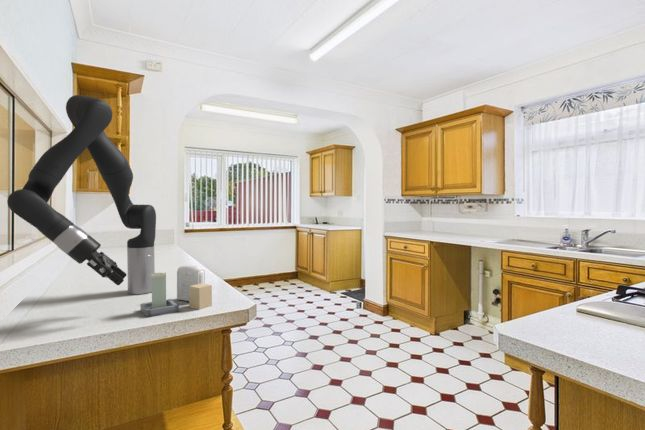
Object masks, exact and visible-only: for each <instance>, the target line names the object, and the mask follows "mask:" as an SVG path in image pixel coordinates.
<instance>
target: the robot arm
mask: <svg viewBox="0 0 645 430" xmlns="http://www.w3.org/2000/svg"><path fill="white" fill-rule="evenodd" d="M65 111H66V115H67V117H68V119H69V121H70V123H71V124H72V126H73V127H74V128H73V129H72V130H71V131H70V133H68V134H67V135H66V136H64V138H62V139H61V140H60V141H58V142H56V143H55V144H54V145H52V146H51V147H50V148H48V149H47V150H45V152H43V154H42V155H41V156H40V157H39V158H38V160H37V162H36V163H35V164H34V166H33V167H32V168H31V170H30V172H29V174H28V178H27V179H28V180H27V181H26V182H25V184H24V185H23V187H22V188H20V189H16V190H14V191H12V192H11V193H10V194H9V196H7V202H6V203H7V207H8V208H9V210H11V211H12V212H13V213H14V214H15V215H16V216H18V217H19V218H21V219H22V220H24V221H25V222H27V223H28V224H30V225H31V226H32V227H33V228H34V227H35V229H37V230H38V231H39V232H40V233H41V234H42V235H43V236H44V237H45V238H47V239H49V240H50V241H51V242H52V243H53V244H54V245H56V247H57V248H58V249H59V250H61V251H62V252H63V253H65V254H66V255H67V256H69V257H70V258H71V259H72V260H73V261H75V262H77V264H80V265H81V264H82V263H84V262H85V261H87V263H86V265H87V266H88V267H89V268H91V269H92V270H93V271H94V272H96V273H97V274H98V275H99V276H101V278H106V279H109V280H110V281H111V282H112V283H114V284H115V285H116V286H120V285H121V284H122V283H123V282H124V281H125V280H124V279H125V277H127V293H128V294H129V295H144V294H149V293H152V277H151V275H152V273H156V272H155V269H156V268H155V240H156V229H157V227H156V226H157V225H156V224H157V213H156V209H155V207H154V206H153V205H152V204H134V203H133V202H132V200H131V197H130V195H129V193H130V190H131V187H132V183H133V180H134V174H133V171H132V168H131V166H130V164H129V162H128V160H127V158H126V156H125V155H124V153H123V152H122V151H121V150H120V148H118V147H117V146H116V144H115V143H114V142H113V141H112V140H111V139H110V137H108V135H107V134H106V132H105V130H106V129H107V128H108V126H109V125H110V123H111V122H112V119H113V109H112V107H111V105H110V104H109V103H107V101H105V100H104V99H100V98H96V97H92V96H88V95H83V94H77V95H76V94H75V95H72V96H70V97H69V98H68V99H67V101H66V104H65ZM86 149H87V150H88V151H89V154H90V156H91V158H92V160H93V161H94V163H95V164H94V165H96V168H97V170H98V173H99V174H100V176H101V178H102V180H103V181H104V184H105V185H106V187H107V189H108V191H109V193H110V196H111V197H112V199H113V202H114V204H115V207H116V210H117V213H118V215H119V218H120V220H121V223H122V224H123V225H124V227H125V228H127V229H131V230H135V229H136V230H137V229H138V230H140V232H139V234H138V235H136V236H135V237H132V238H129V239H128V240H127V242H126V250H127V251H126V252H127V253H126V256H127V259H126V260H127V264H126V265H127V266H126V267H127V273H126V272H125V271H124V270H123V269H121V268H120V267H119V266H118V264H117V262H116V261H114V260H113V259H112V258H110V257H109V255H107V254H105V253H104V252H103V251H100V252H99V251H97V250H98V249H100V248H101V243H99V242H98V241H97V240H96V239H95V238H93V237H92V236H91V235H90V234H88V233H87V232H86V231H85V230H84V229H82V228H81V227H80V226H77V225H76V224H75V223H74V222H72V221H71V220H70V219H68V218H67V216H65V215H63V214H62V213H60V212H58V211H56V209H55V208H53V206H51V205H50V204H49V203H48V202H49V200H50V199H51V197H52V195H53V193H54V191H55V189H56V188H57V186H58V185H59V184H60V182H62V180H63V178H64V177H65V175H66V174H67V173H68V171H69V169H71V167H72V165H73V164H74V163H75V161H76V160H77V159H78V158H79V157H80V155H82V153H83V152H84V151H85V150H86Z"/></svg>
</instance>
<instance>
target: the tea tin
mask: <svg viewBox="0 0 645 430" xmlns="http://www.w3.org/2000/svg"><path fill="white" fill-rule="evenodd" d="M151 277H152V292H151V302H152V309H155V308H161V307H166V300H167V272H166V271H164V272H163V271H162V272H155V273H152V275H151Z"/></svg>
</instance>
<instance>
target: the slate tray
mask: <svg viewBox="0 0 645 430" xmlns="http://www.w3.org/2000/svg"><path fill="white" fill-rule="evenodd" d="M179 309H180V308H179V304H177V303H176V302H174V301H173V300H172V299H170V298H169V299H166V307H161V308H155V309H152V301H151V302H145V303H140V311H141V312H142V314H143V315H144V316H145V317H146V318H152V317H156V316H157V317H158V316H163V315H169V314H173V313H178V312H179V311H180V310H179Z"/></svg>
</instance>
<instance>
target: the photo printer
mask: <svg viewBox="0 0 645 430" xmlns="http://www.w3.org/2000/svg"><path fill="white" fill-rule="evenodd" d="M201 283H203V284H206V273H205V269H204V268H203V267H200V266H198V265H192V264H186V265H182V266H179V267H178V268H177V270H176V299H177V300H179V301H186V302H189V286H192V285H196V284H201Z"/></svg>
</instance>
